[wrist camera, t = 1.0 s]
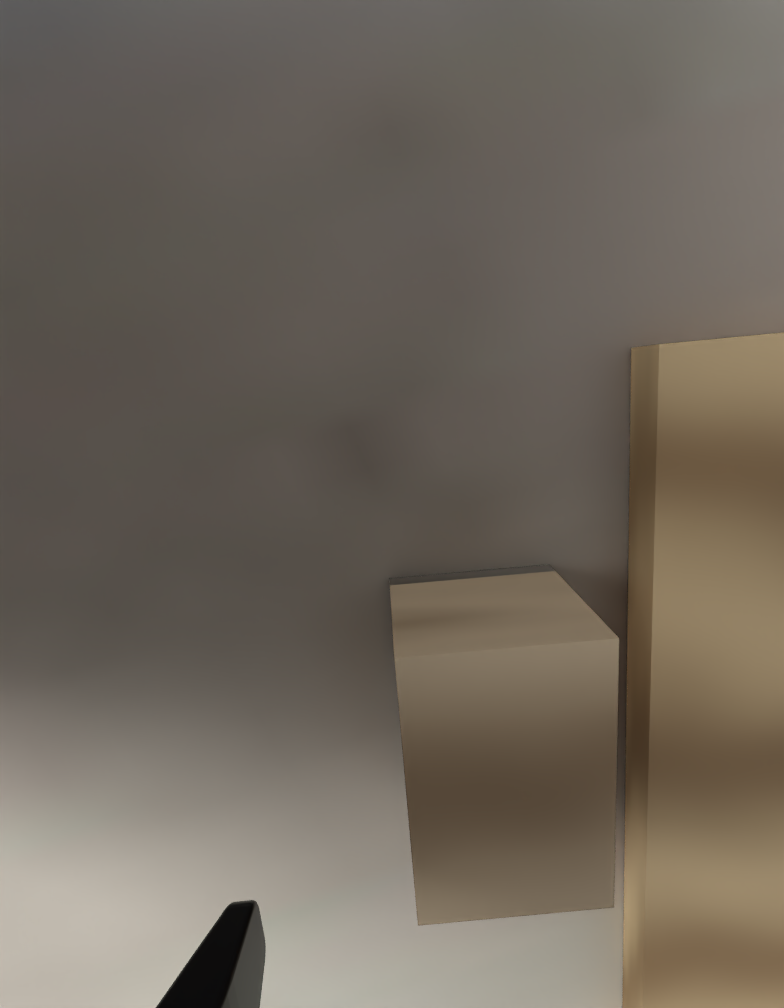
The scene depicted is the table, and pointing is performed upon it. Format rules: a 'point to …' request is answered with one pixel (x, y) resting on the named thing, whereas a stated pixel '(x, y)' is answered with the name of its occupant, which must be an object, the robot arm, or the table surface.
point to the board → (705, 676)
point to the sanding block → (506, 743)
